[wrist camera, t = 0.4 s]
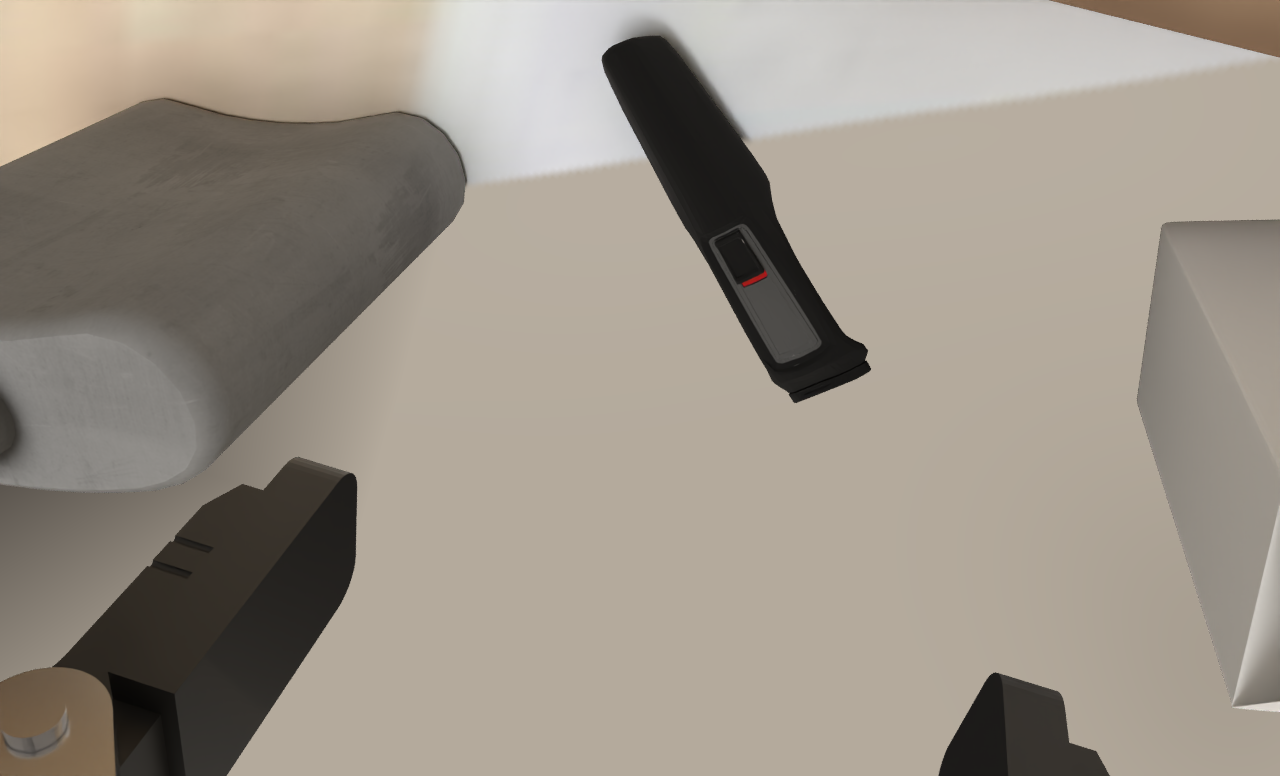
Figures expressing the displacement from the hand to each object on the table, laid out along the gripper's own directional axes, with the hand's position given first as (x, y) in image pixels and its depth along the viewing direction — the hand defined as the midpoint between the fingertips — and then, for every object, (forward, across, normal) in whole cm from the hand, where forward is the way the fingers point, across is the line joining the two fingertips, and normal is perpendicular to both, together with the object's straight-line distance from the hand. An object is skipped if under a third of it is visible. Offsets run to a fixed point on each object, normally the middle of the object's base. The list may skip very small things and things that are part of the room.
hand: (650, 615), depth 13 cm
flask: (+27, +19, +10) cm, 35 cm away
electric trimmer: (+27, +2, +7) cm, 28 cm away
